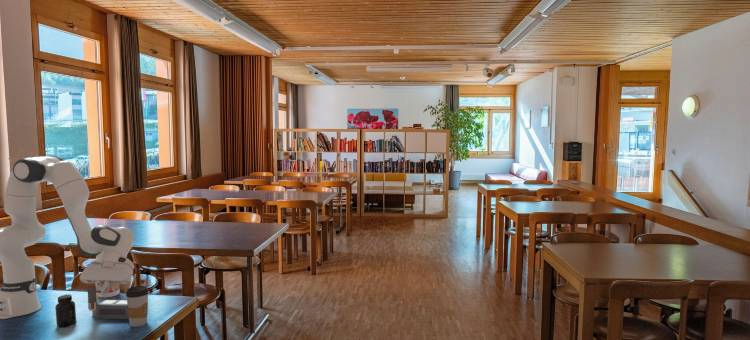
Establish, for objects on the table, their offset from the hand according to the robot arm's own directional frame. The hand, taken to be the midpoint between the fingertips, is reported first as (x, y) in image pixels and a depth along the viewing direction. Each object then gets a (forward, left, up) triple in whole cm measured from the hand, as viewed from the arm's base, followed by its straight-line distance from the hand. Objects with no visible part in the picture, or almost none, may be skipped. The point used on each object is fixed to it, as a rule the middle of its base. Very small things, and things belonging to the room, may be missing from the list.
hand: (98, 292), depth 189 cm
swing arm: (-4, +3, -6) cm, 8 cm away
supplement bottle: (-14, 0, -14) cm, 20 cm away
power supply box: (-1, +10, -14) cm, 17 cm away
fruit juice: (-19, +36, -14) cm, 43 cm away
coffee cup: (+15, +2, -14) cm, 21 cm away
